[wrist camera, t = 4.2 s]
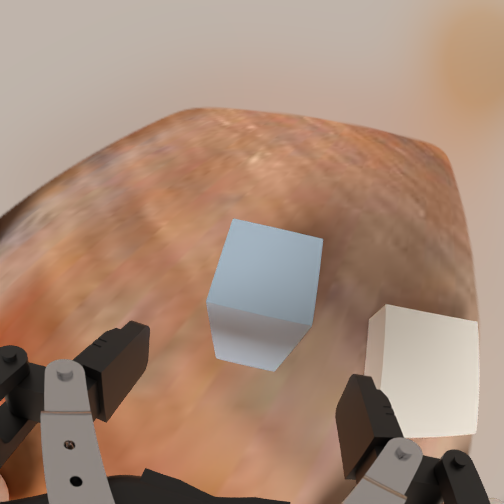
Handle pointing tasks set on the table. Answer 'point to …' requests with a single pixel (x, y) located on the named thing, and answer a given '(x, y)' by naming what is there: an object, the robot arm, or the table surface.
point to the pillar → (263, 294)
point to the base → (426, 370)
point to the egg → (3, 490)
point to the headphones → (495, 501)
